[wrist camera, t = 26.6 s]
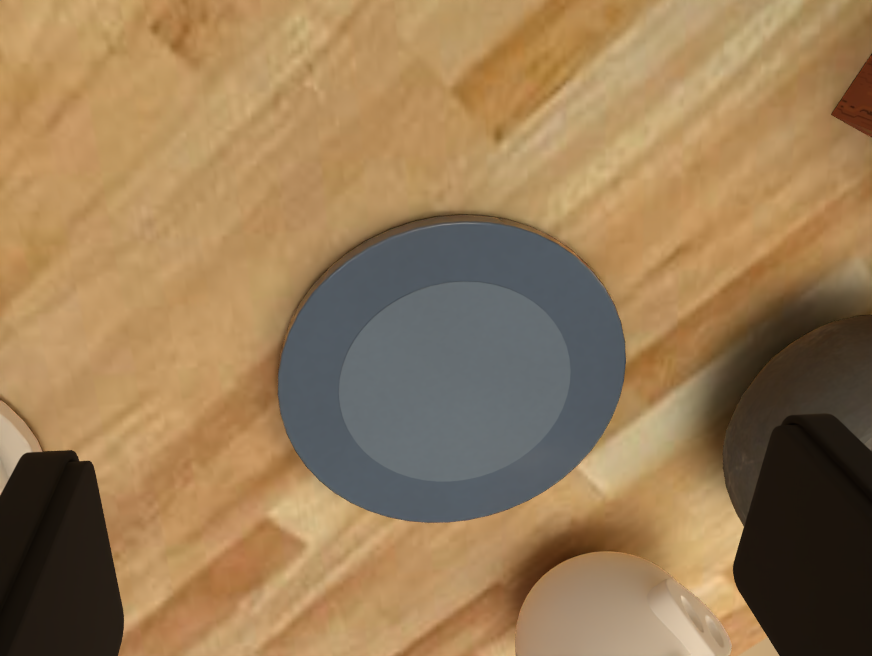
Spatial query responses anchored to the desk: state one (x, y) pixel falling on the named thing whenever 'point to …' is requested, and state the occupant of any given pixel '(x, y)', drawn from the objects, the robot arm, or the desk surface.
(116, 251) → the desk surface
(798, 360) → the bowl
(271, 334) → the desk surface
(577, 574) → the piggy bank
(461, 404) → the plate
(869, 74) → the box
